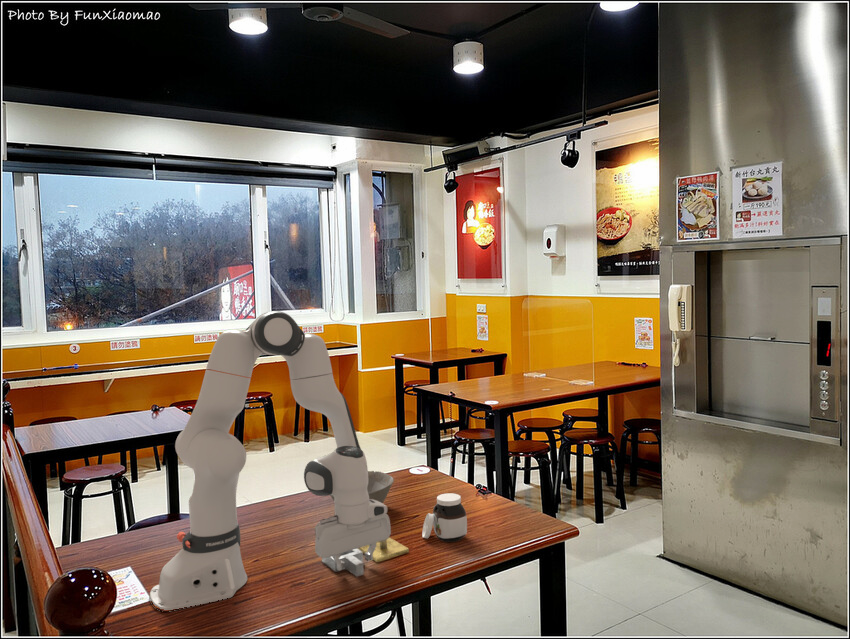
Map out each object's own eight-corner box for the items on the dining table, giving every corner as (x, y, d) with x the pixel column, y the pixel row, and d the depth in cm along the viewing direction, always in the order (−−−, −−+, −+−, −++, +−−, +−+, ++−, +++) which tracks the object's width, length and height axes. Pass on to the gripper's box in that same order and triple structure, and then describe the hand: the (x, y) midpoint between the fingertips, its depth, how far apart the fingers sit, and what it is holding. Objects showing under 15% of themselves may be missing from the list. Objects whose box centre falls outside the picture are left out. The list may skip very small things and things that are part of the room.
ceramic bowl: (342, 530, 188) (340, 497, 187) (316, 508, 208) (314, 478, 207) (408, 514, 199) (406, 483, 198) (377, 495, 219) (375, 466, 218)
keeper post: (376, 562, 165) (375, 540, 165) (358, 550, 173) (357, 528, 173) (408, 552, 171) (407, 530, 170) (389, 540, 179) (388, 519, 179)
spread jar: (471, 539, 177) (470, 499, 177) (437, 549, 172) (435, 507, 171) (448, 526, 188) (447, 488, 187) (415, 535, 182) (413, 496, 181)
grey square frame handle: (374, 571, 160) (373, 559, 160) (346, 580, 156) (345, 568, 156) (348, 553, 172) (348, 542, 171) (322, 561, 167) (321, 550, 167)
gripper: (320, 525, 151) (323, 581, 152) (392, 505, 163) (395, 557, 164) (309, 517, 156) (312, 572, 157) (380, 498, 168) (382, 549, 169)
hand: (355, 564), depth 160 cm, fingers open, 7 cm apart
